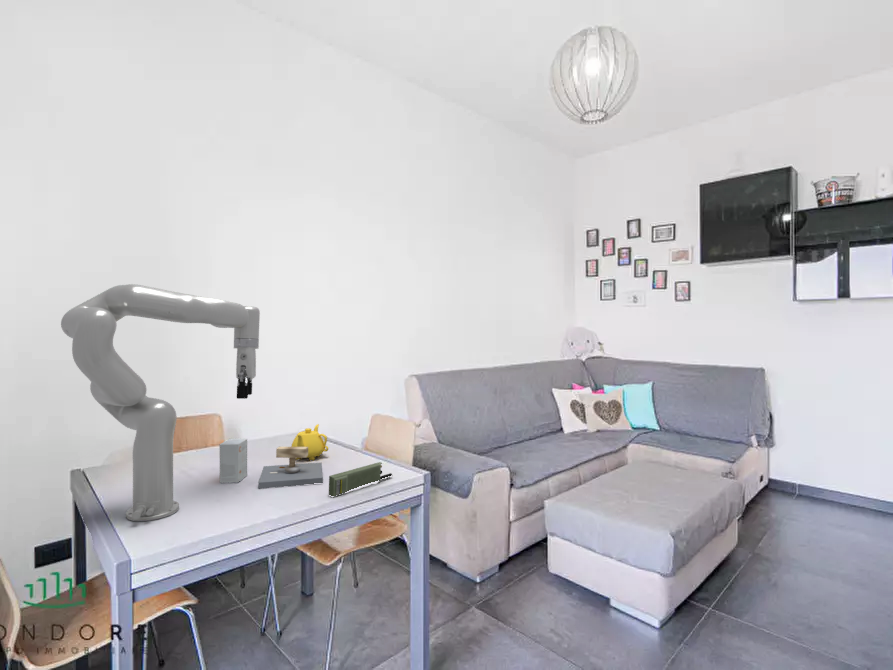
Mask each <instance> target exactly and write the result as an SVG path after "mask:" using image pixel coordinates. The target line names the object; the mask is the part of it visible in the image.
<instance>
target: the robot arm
mask: <svg viewBox="0 0 893 670" xmlns="http://www.w3.org/2000/svg"><path fill="white" fill-rule="evenodd" d="M260 311H261V310H260V309H259V308H258V307H256V306H249V305H248V306H247V305H243V304H240V303H237V302H232V301H229V300H222V299H215V298H213V297H212V298H211V297H204V296H199V295H194V294H187V293H181V292H178V291H177V292H175V291H173V290H167V289H161V288H156V287H152V286H148V285H147V286H146V285H141V284H133V283H131V284H119V285H115V286H112V287H110V288H108V289H106V290H104V291H103V292H100V293H98V294H97V295H95V296H93V297H91V298H90V299H87V300H86V301H84V302H82V303H80V304H78V305H76V306H74V307H73V308H70V309H69V310H67V312H66V313H64V314H63V315H62V317H61V321H60V326H61V327H60V328H61V329H62V331H63V333H64V334H65V335H66V336H67V337H68V338H70V339H72V344H71V351H72V359H73V362H74V363H75V365H76V367H77V368H78V370H79V371H80V372H81V373H82V374H83V375H84V376H85V377H86V378H87V379H88V380H89V381H90V385H89V386H90V387H89V389H90V390H89V391H90V393H91V396H92V397H93V399H94V400H95V401H96V402H97V403H98V404H99V405H100V407H102V408H103V409H104V410H106V412H108V413H109V414H110V415H111V416H112V417H113V418H114V419H115V420H117V422H119V423H120V424H121V425H122V426H124V427H125V428H127V429H130V430H133V431H136V433H135V437H134V440H133V445H132V507H130V508H129V509H128V510H126V512H125V518H126V519H128V520H129V521H132V522H133V521H134V522H147V521H148V522H149V521H155V520H159V519H160V520H161V519H163V518H166V517H169V516H171V515H173V514H175V513H176V512H178V511H179V509H180V503H179V502H178V501H175V500H174V439H175V437H174V436H175V430H176V427H177V426H176V424H177V412H176V409H175V408H174V406H173V405H172V404H171V403H169V402H168V401H166V400H164V399H160V398H154V397H148V396H147V395H146V394H147V384H146V383H145V381H144V380H143V378H142V377H141V376H140V375H139V374H138V373H137V372H136V371H134V370H133V369H132V368H131V367H130V365H128V364H127V362H125V360H124V359H123V358H122V357H121V356H120V354H118V351H116V349H115V347H114V337H115V334H116V330H117V322H118V321H119V320H121V319H123V318H125V317H126V316H127V317H128V316H132V317H140V318H147V319H151V320H152V319H153V320H158V321H159V320H160V321H165V322H173V323H181V324H208V325H211V326H213V327H215V328H222V329H227V328H228V329H233V349H236V364H235V365H236V367H235V371H236V372H235V377H236V379H237V386H236V399H239V400H240V399H242V400H243V399H248V398H249V396H250V395H252V394H253V379H255V378H256V374H257V370H256V369H257V364H256V363H257V361H256V359H257V353H256V352H257V351H256V350H258V349H259V347H260V346H259V344H260V342H259V341H260V318H261V317H260V315H261V313H260Z"/></svg>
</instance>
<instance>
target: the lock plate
mask: <svg viewBox="0 0 893 670" xmlns="http://www.w3.org/2000/svg"><path fill="white" fill-rule="evenodd" d="M295 464H296V465H300V471H299V472H296V473H285V468H279V467H285V466H287V465H288V464H279V465H277V464H276V465H264V466H263V467H262V470H261V474H260V477H259V480H258V482H257V483H258V487H257V489H258V488H263V489H270V488H269V487H275V488H284V486H288V487H297V486H296V485H300V486H305V485H304V484H313V485H315V484H314V483H323V484H324V474H323V465H322V464H323V463H322V462H309V463H306V462H305V463H295Z"/></svg>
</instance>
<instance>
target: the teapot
mask: <svg viewBox="0 0 893 670" xmlns="http://www.w3.org/2000/svg"><path fill="white" fill-rule="evenodd" d="M319 426H320V424H319V423H317V424H316V425H315V426H314V427H313V428H314V429H313V430H312V428H311V427H310V428H309V427H308V428H304V430H303V431H300V432H298V433H297V434H296V436H295V437H294V439H293V441H292V444H291V446H290V447H308V456H307V457H306V458H305V459H307V458H308V460H309V461H310V460H312V461H315V460H316V458H315V457H316V456H318V457H321V455H322V454H323V453H324V452H328V451H329V447H328V445H327V443H328V436H327V435H326V434H324V433H319ZM323 438H324V439H323ZM300 460H302V458H295V461H300Z"/></svg>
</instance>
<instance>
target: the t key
mask: <svg viewBox="0 0 893 670" xmlns="http://www.w3.org/2000/svg"><path fill="white" fill-rule="evenodd" d="M275 455H276V456H275V457H276V458H277V459H278V458H281V459H282V458H284V459H285V458H286V459H288V460H289V462H288V463H289V464H286V465H287V466H285V467H279V468H285V473H296V472H299V471H300V465H296V464H297V463H296V460H295V459H296V458H301V459H307V458H306V457H307V456H308V447H291V446H278V447H277V448H276V451H275Z"/></svg>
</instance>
